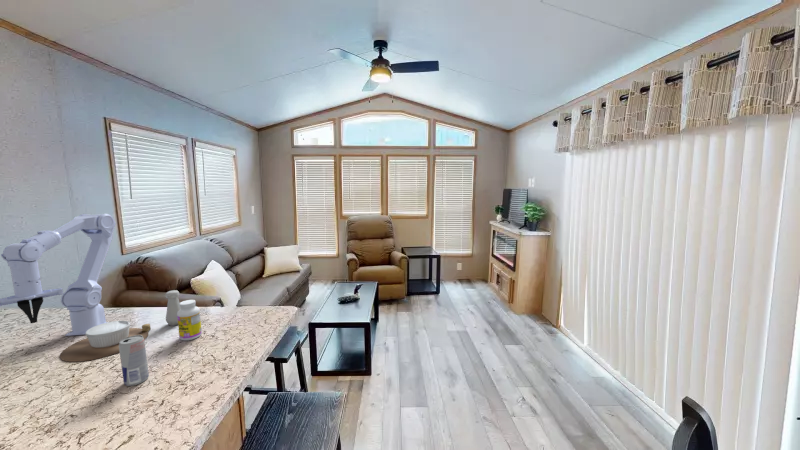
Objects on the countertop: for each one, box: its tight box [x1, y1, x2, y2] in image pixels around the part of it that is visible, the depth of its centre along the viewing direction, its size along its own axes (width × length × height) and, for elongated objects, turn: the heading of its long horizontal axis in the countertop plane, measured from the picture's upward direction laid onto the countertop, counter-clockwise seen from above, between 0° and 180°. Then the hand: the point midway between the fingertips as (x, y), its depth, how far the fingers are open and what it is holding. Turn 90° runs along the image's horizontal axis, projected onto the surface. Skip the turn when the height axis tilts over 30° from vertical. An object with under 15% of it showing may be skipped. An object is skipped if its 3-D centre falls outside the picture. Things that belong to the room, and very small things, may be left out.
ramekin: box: [85, 320, 131, 348], centre depth 109 cm, size 11×11×5 cm
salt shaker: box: [165, 289, 181, 327], centre depth 123 cm, size 6×6×13 cm
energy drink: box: [119, 335, 150, 387], centre depth 87 cm, size 5×5×12 cm
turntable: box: [59, 323, 151, 363], centre depth 108 cm, size 22×22×2 cm
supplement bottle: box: [177, 299, 203, 342], centre depth 112 cm, size 7×7×13 cm
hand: (33, 322), depth 102 cm, fingers closed
